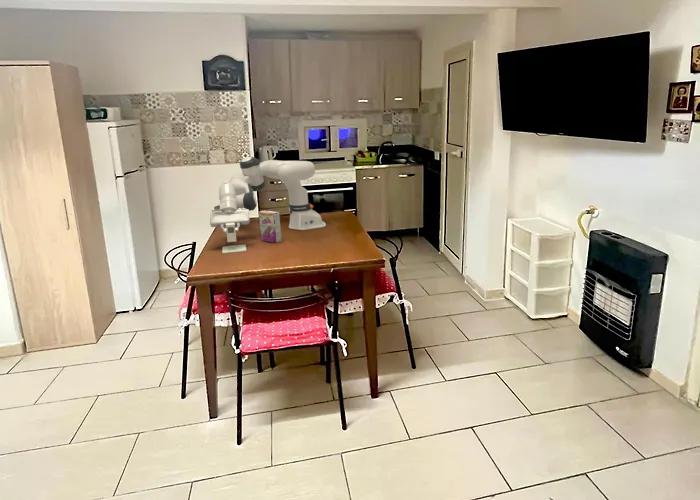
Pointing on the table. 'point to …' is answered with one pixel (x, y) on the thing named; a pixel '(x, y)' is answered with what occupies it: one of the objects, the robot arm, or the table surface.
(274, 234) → the candy bar box
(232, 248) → the board
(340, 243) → the table surface
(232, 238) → the white device with screen
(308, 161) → the robot arm
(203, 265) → the table surface
